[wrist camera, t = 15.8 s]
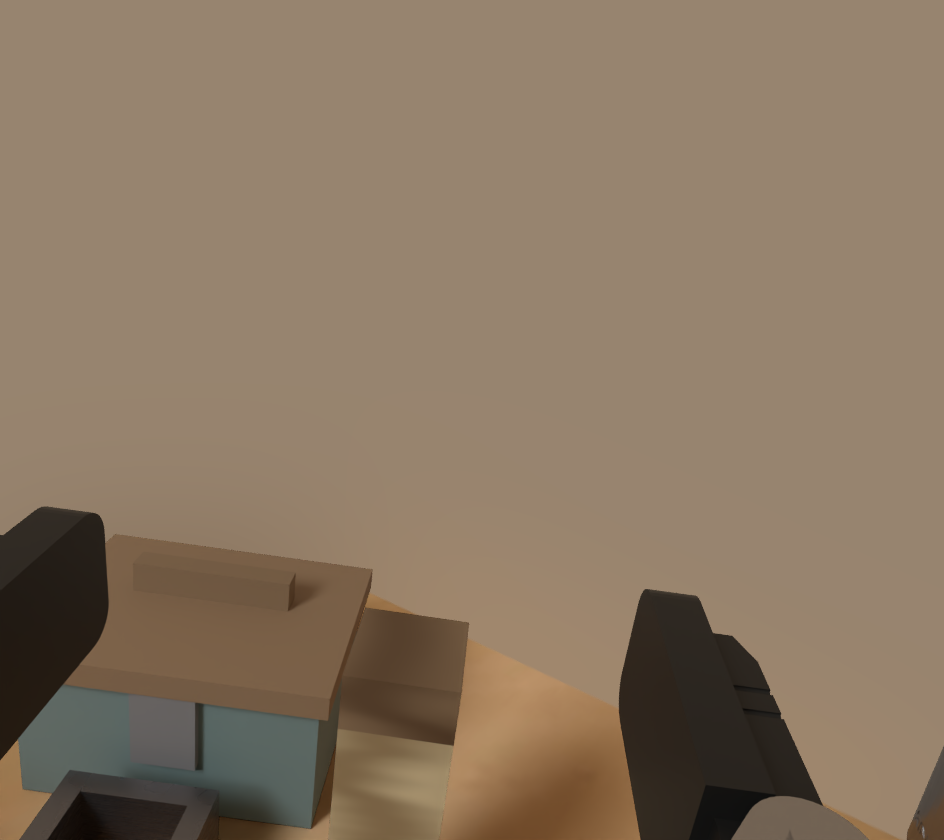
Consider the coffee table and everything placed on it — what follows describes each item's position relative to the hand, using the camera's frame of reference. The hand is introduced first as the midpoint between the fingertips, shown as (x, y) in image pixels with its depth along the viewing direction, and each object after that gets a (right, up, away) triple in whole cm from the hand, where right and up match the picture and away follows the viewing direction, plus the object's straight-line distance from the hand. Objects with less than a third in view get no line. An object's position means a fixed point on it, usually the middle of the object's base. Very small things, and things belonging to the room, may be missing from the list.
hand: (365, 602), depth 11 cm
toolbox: (-13, -14, +30) cm, 35 cm away
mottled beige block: (-2, -20, +18) cm, 27 cm away
